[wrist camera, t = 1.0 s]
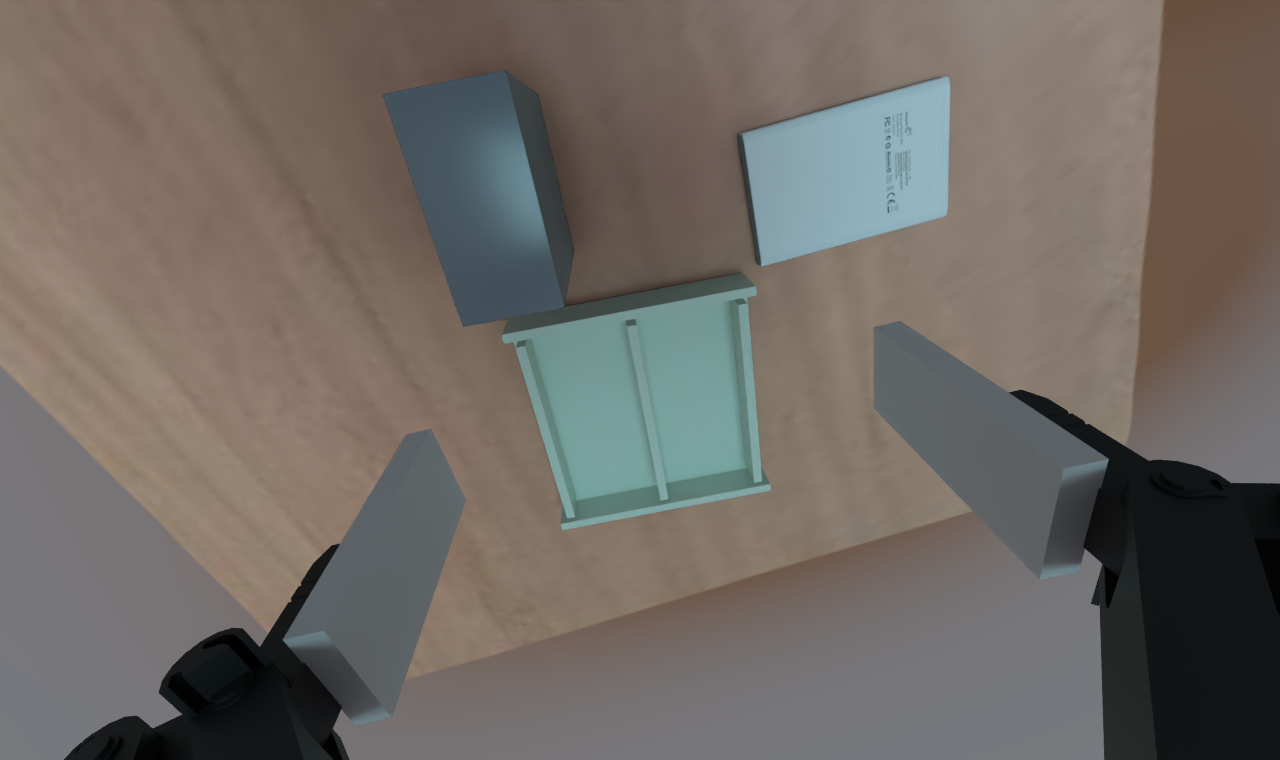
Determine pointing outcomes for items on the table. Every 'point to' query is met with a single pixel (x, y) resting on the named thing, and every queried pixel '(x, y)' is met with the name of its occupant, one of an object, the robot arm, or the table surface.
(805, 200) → the external hard drive
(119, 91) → the table surface
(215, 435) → the table surface
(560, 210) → the blue-grey rectangular block
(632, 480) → the green divided tray
